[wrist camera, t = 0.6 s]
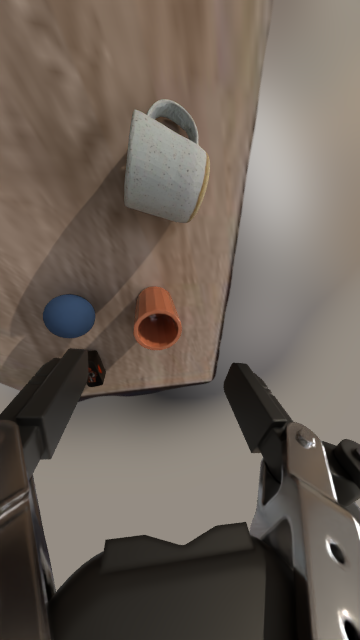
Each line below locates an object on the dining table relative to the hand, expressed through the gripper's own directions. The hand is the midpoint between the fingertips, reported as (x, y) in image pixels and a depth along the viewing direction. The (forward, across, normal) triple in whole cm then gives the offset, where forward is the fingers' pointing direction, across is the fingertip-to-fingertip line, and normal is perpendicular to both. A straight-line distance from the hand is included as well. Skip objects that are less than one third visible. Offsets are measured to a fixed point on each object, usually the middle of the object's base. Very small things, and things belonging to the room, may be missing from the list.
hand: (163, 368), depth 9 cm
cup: (+21, 0, +4) cm, 21 cm away
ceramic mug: (+20, +2, -14) cm, 25 cm away
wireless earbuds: (+21, +11, +18) cm, 29 cm away
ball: (+17, +12, +6) cm, 22 cm away
